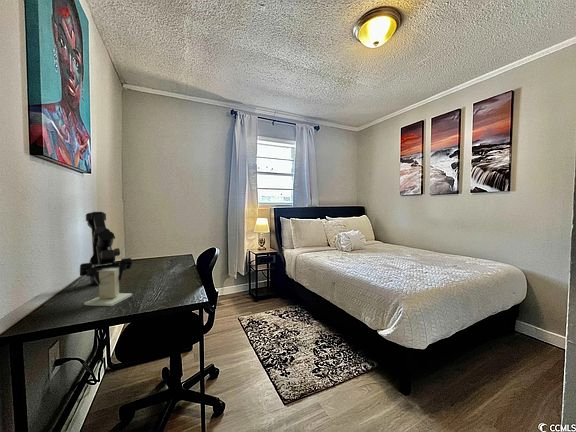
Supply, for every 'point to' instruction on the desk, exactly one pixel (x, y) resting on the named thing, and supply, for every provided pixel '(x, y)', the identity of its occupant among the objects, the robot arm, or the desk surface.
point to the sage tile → (108, 300)
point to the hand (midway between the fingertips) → (109, 282)
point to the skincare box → (109, 283)
